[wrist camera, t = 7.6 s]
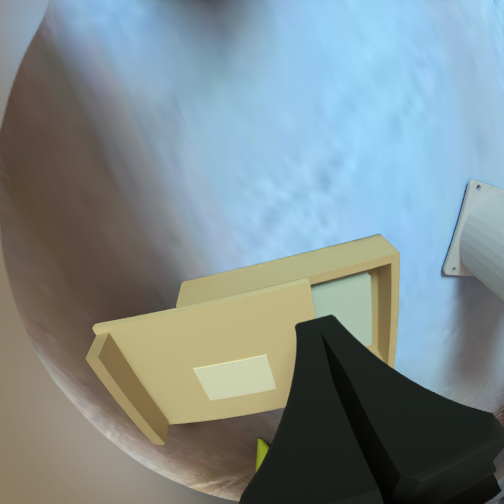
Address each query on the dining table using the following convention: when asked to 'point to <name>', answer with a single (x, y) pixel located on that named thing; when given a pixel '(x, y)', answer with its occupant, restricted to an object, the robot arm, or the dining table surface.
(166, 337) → the lid
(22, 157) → the dining table surface
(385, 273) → the mailer box
